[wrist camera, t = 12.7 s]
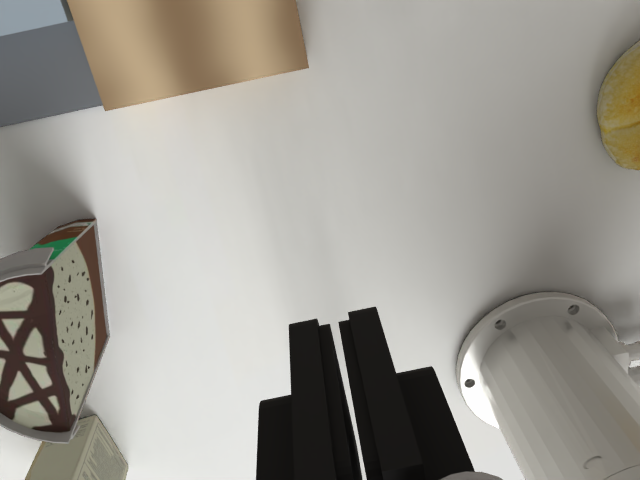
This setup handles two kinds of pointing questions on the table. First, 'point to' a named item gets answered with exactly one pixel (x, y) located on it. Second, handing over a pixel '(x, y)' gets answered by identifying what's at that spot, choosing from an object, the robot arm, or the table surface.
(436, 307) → the table surface
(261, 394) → the table surface
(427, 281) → the table surface
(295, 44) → the wooden block
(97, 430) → the skincare box
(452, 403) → the table surface
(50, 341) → the food container
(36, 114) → the mat
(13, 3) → the tile
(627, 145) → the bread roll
